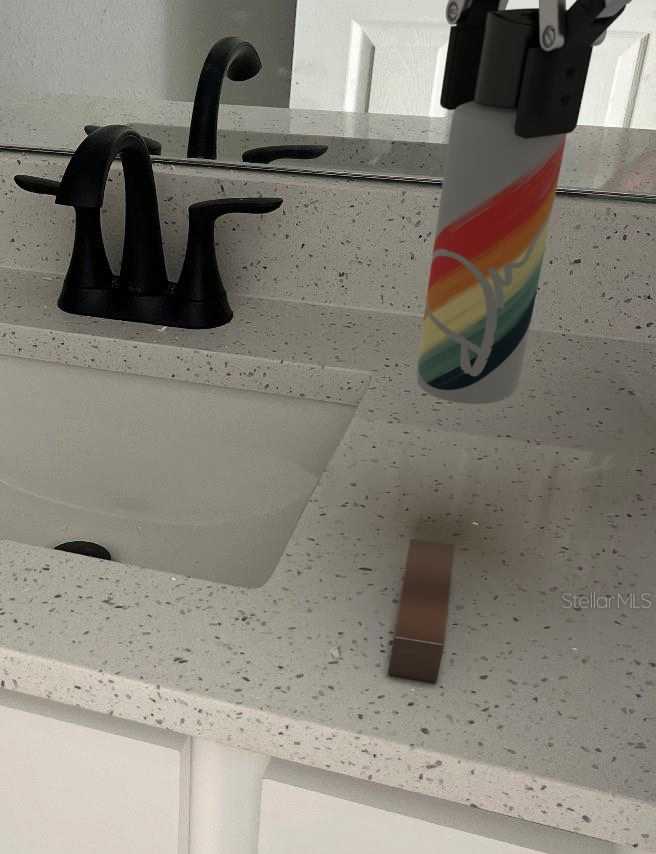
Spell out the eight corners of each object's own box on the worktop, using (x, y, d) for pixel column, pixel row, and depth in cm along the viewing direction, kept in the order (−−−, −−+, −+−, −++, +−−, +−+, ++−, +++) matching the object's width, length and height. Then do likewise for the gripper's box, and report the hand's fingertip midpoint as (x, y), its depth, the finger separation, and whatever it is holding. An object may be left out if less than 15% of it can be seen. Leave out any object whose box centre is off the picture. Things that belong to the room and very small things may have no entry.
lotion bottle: (421, 405, 67) (478, 14, 56) (409, 365, 72) (459, -4, 61) (526, 407, 67) (605, 11, 55) (507, 366, 71) (576, -7, 60)
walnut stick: (404, 573, 71) (410, 537, 69) (448, 579, 70) (455, 543, 68) (387, 675, 63) (393, 637, 61) (436, 683, 62) (443, 645, 61)
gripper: (818, -347, 45) (687, 152, 55) (531, -317, 58) (470, 79, 69) (651, -344, 43) (548, 172, 53) (396, -314, 56) (353, 93, 67)
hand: (505, 116), depth 61 cm, fingers closed on lotion bottle, 5 cm apart
